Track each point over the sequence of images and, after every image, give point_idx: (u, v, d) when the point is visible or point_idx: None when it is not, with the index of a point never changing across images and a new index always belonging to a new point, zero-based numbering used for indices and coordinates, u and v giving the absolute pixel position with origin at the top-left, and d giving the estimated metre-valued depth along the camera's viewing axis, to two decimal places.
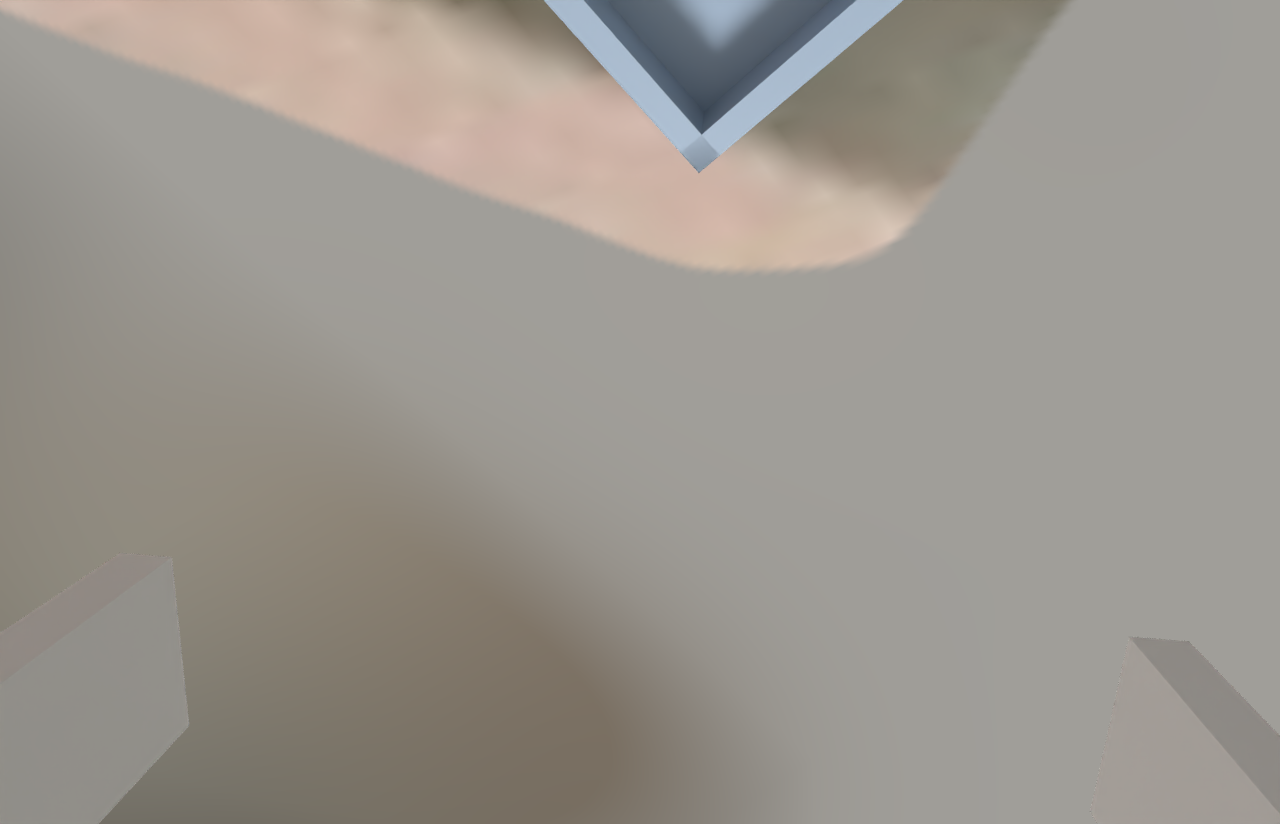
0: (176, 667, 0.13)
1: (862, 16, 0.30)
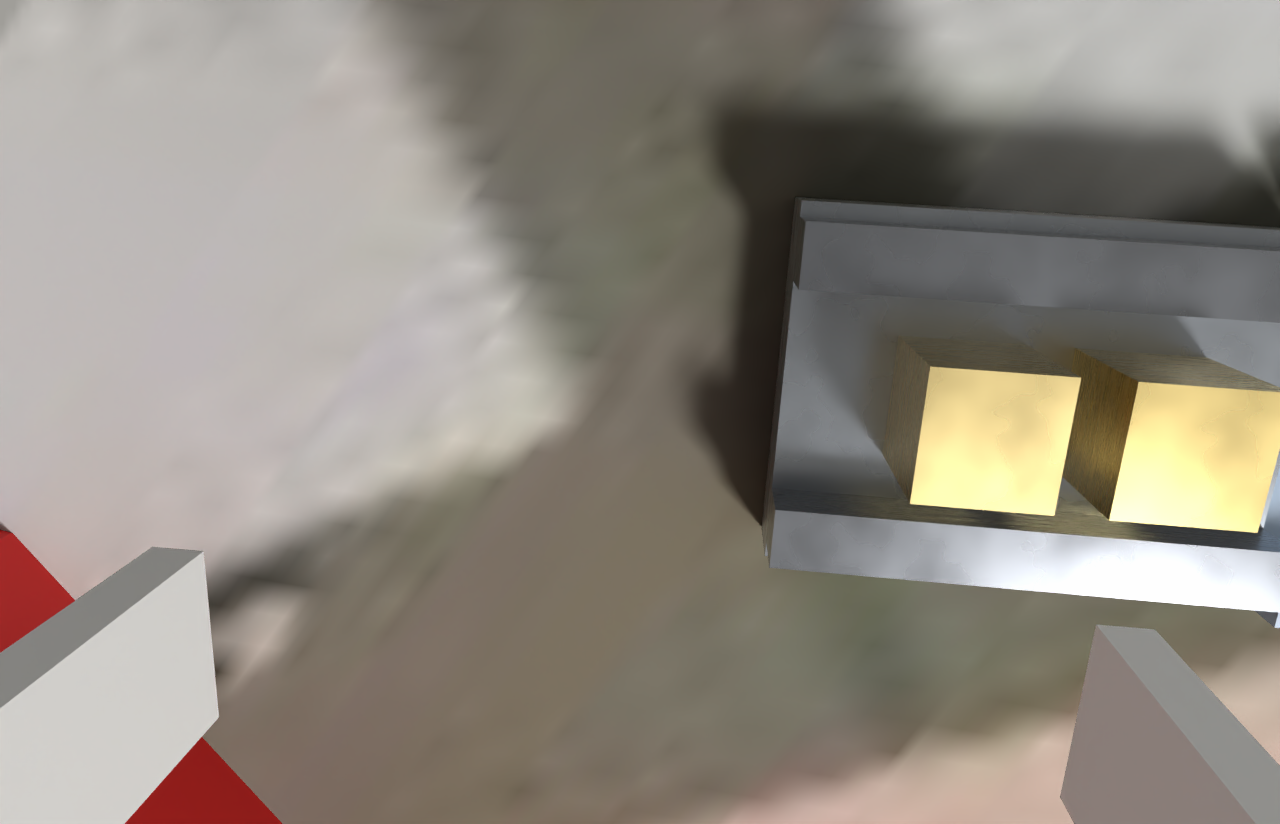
0: (207, 659, 0.13)
1: None
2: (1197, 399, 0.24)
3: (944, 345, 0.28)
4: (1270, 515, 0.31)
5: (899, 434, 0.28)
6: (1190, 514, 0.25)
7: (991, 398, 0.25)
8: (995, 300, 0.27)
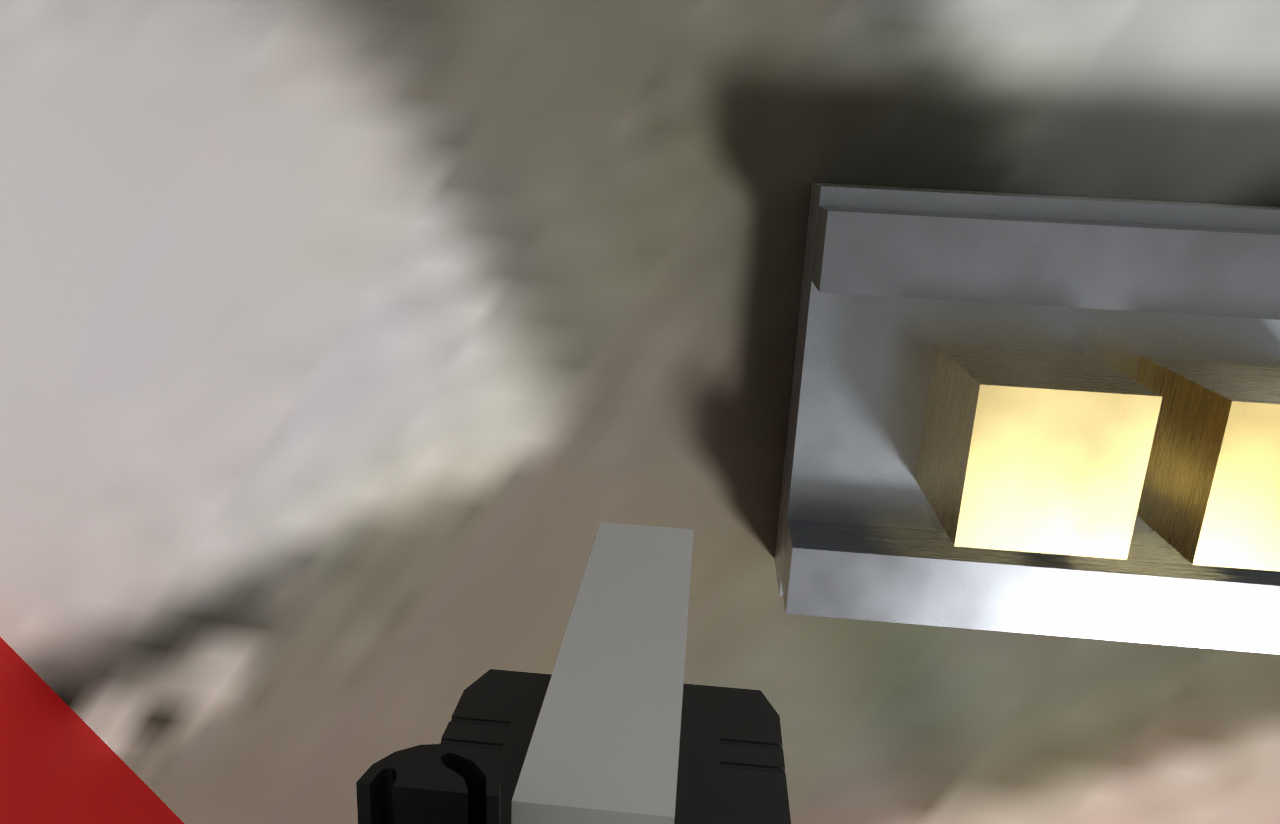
0: None
1: None
2: None
3: (990, 355, 0.24)
4: None
5: (938, 460, 0.24)
6: None
7: (1054, 421, 0.21)
8: (1053, 302, 0.22)
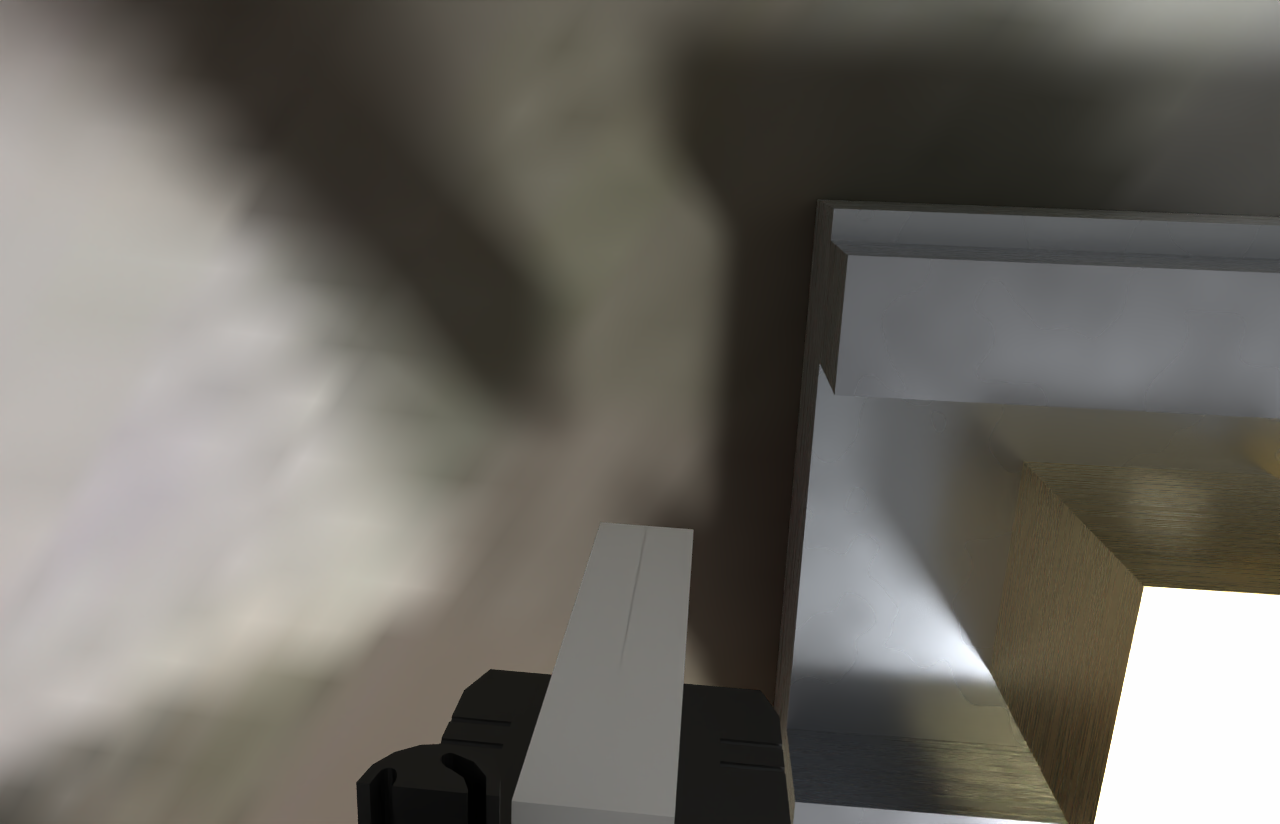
0: None
1: None
2: None
3: (1125, 491, 0.14)
4: None
5: (1040, 671, 0.14)
6: None
7: None
8: (1249, 411, 0.13)
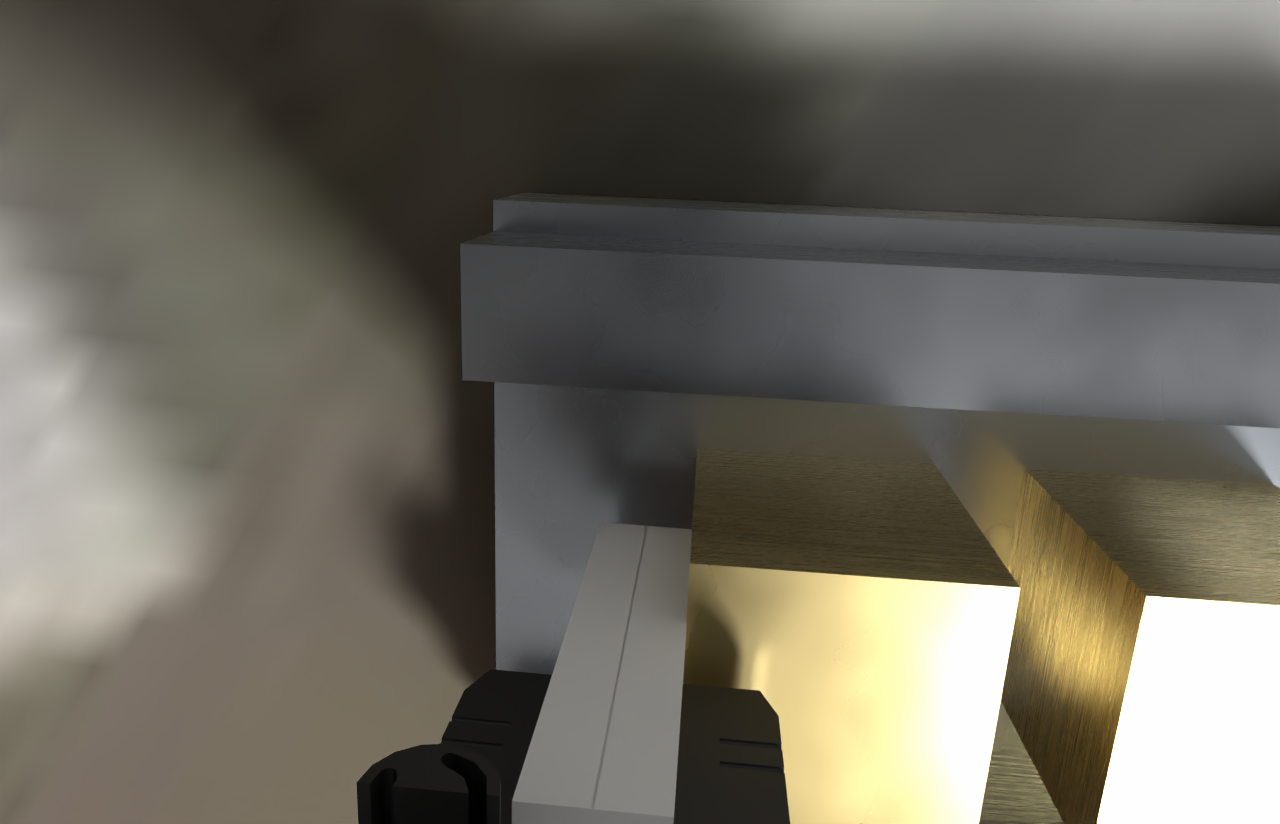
0: None
1: None
2: (1277, 633, 0.11)
3: (769, 476, 0.14)
4: None
5: None
6: None
7: (827, 627, 0.11)
8: (851, 397, 0.13)
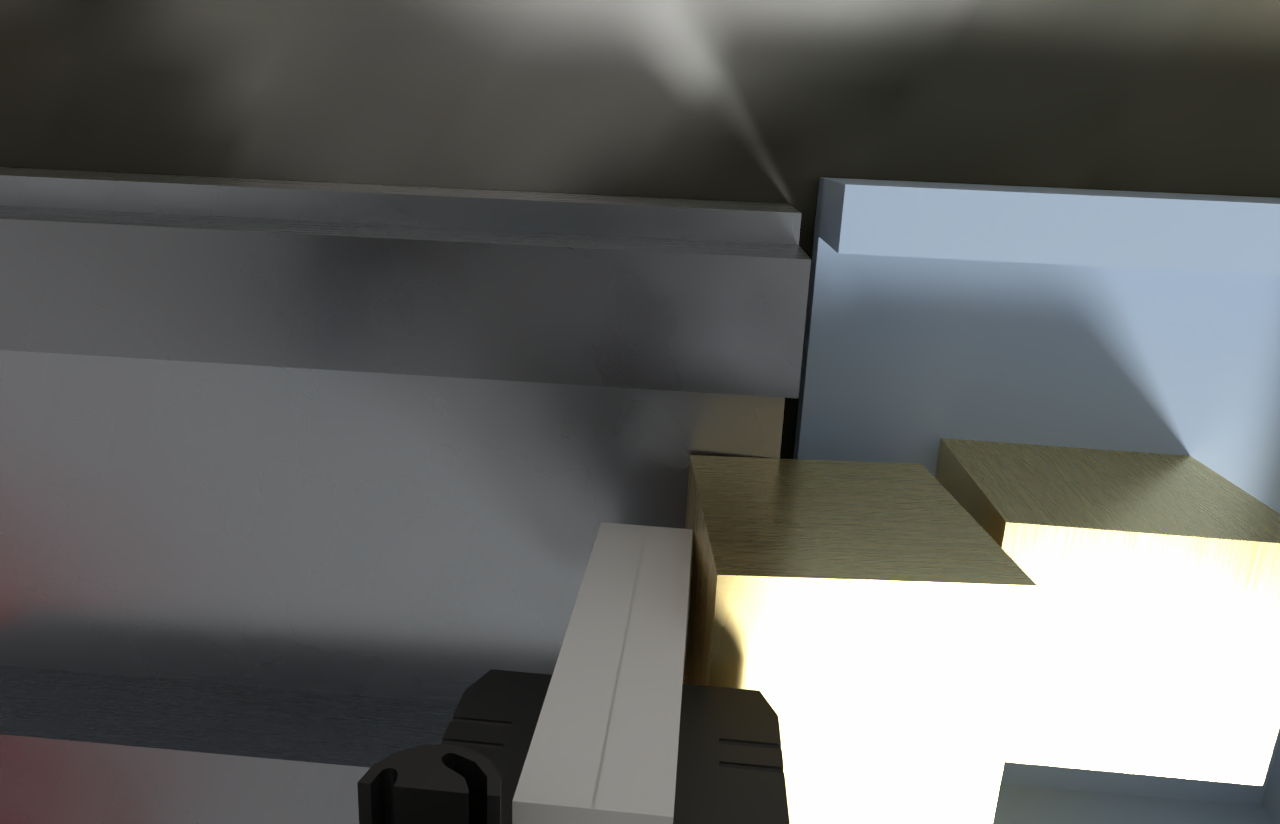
0: None
1: None
2: None
3: (768, 482, 0.14)
4: None
5: (689, 660, 0.14)
6: None
7: (851, 632, 0.11)
8: (116, 351, 0.14)
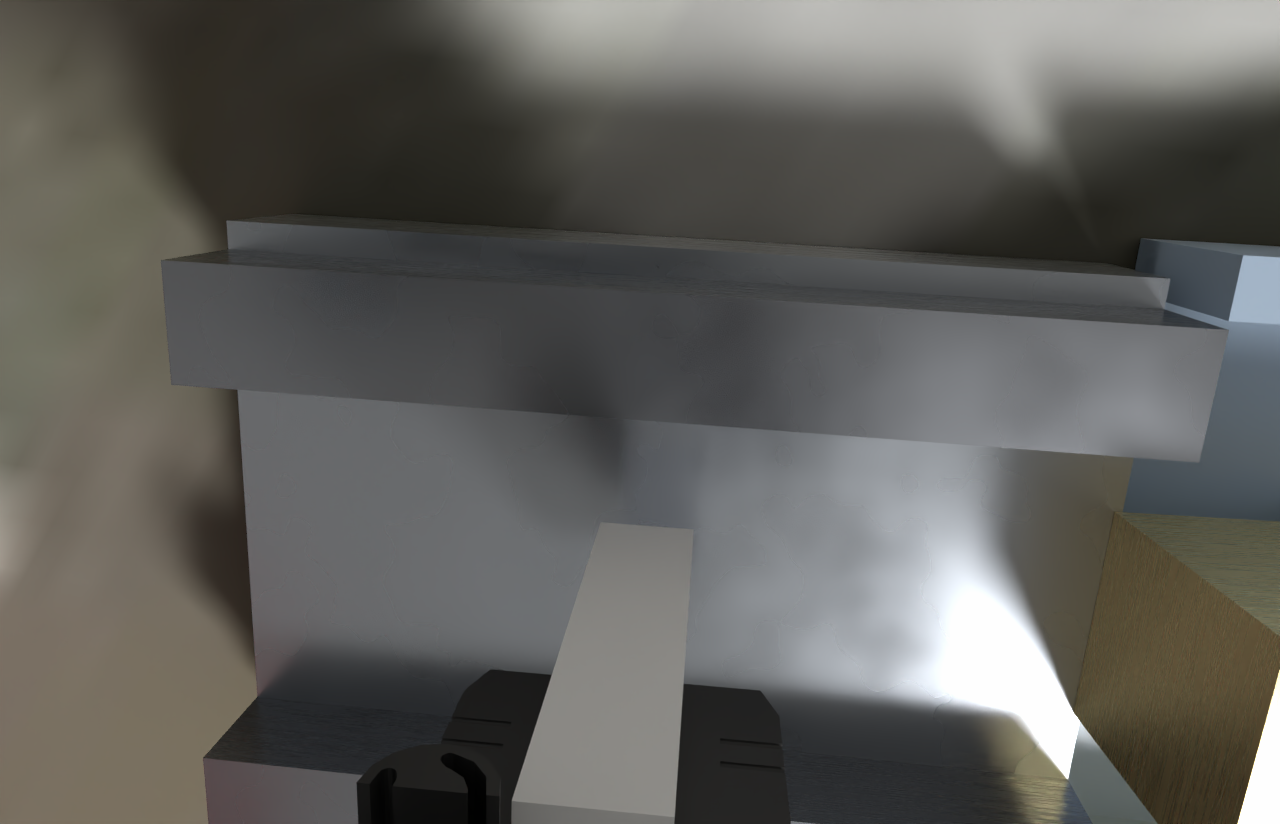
0: None
1: None
2: None
3: (1221, 542, 0.15)
4: None
5: (1145, 716, 0.15)
6: None
7: None
8: (517, 406, 0.14)
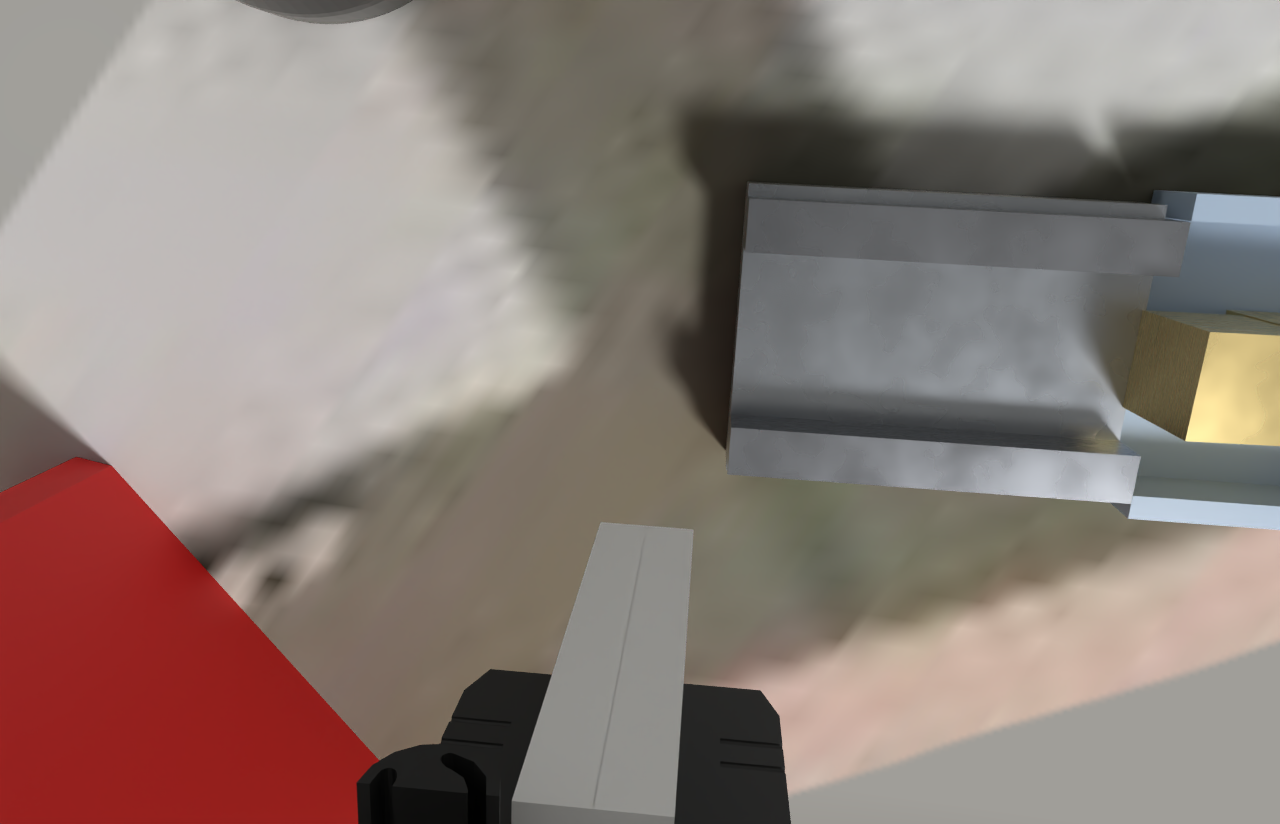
0: None
1: None
2: None
3: (1188, 316, 0.35)
4: (1131, 433, 0.39)
5: (1156, 388, 0.35)
6: None
7: (1255, 355, 0.32)
8: (896, 258, 0.34)
